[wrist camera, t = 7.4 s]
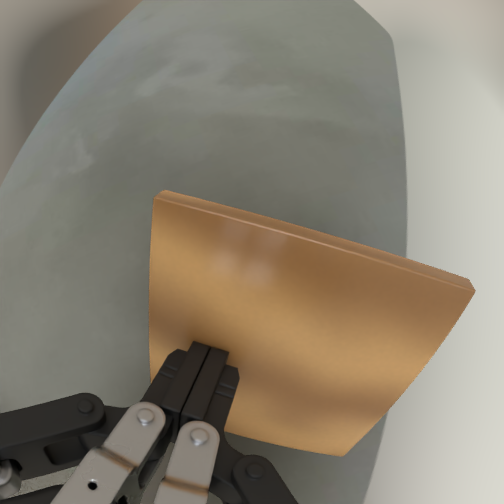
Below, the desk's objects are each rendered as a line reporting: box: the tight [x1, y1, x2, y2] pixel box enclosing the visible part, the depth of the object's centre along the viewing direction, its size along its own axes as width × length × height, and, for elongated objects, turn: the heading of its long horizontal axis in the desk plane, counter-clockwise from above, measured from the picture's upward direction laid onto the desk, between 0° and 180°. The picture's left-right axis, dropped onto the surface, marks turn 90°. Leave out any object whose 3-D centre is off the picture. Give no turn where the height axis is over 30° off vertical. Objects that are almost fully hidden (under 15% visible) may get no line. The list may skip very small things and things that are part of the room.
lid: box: [149, 190, 475, 457], centre depth 13 cm, size 12×11×1 cm
